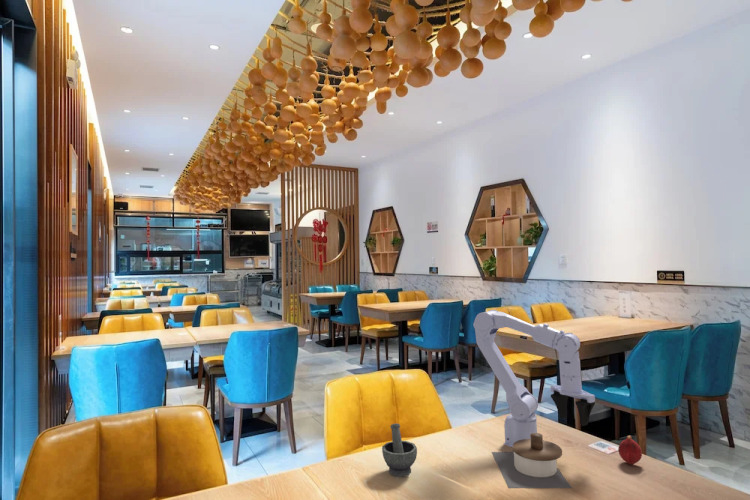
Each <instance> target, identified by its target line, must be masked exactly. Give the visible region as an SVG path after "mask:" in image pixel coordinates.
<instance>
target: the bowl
mask: <svg viewBox="0 0 750 500" xmlns="http://www.w3.org/2000/svg"><path fill="white" fill-rule="evenodd" d="M513 452H514V451H513ZM557 461H558V459H556V460H551V461H537V460H531V459H527V458H524V457H521V456H519V455H517V454H516V453H515V452H514V466H515V468H516V470H517V471H518V472H520V473H522V474H524V475H527V476H531V477H538V478H545V477H551V476H553V475H555V474H556V473H557V468H558V465H557V463H558V462H557Z"/></svg>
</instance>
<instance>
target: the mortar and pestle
mask: <svg viewBox="0 0 750 500" xmlns="http://www.w3.org/2000/svg"><path fill="white" fill-rule="evenodd" d="M400 428H401V425H400V423H392V424H391V425H390V429H391V436H392V437H391V438H392V439H391V441H389V442H385V444H383V445H382V447H381V449H382V451H381V453H382V457H383V460H384V462H385V463H386V466H387V467H388V468H389V469H388V472H389V475H390V474H391V476H392V477H395V478H404V477H407V476H409V475H410V474H411V473H412V466H413V465H414V463H415V461H416V460H417V455H418V447H417V446H416V443H413V442H410V441H407V440H402V436H401V435H402V434H401V430H400Z"/></svg>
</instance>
